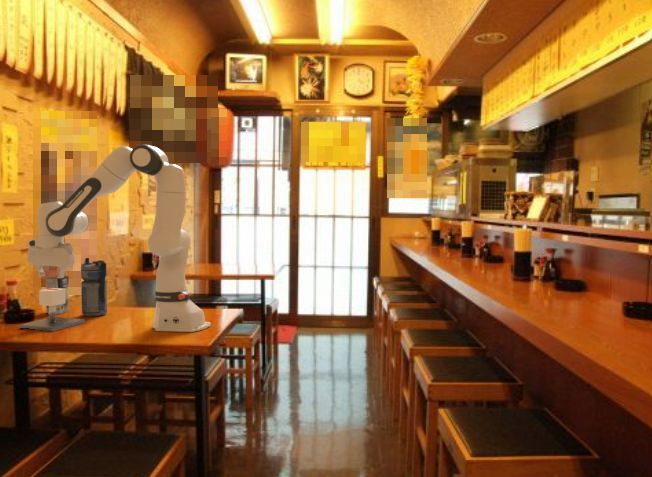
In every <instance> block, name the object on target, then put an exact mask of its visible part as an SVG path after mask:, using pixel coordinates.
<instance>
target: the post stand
mask: <svg viewBox="0 0 652 477" xmlns="http://www.w3.org/2000/svg"><path fill="white" fill-rule="evenodd" d="M48 315H49V316H48V317H47V318H42V319H38V320H35V321H30V322H26V323H21V324H19V329H20V328H29V329H35V330H34V331H40V330H43V331H42V332H50V331H51V333H52V332H57V331H60V330H64V329H68V328H70V327H75V326H78V325H82V324H85V322H86V321H85V319H84V318H75V317H74V318H73V317H60V316H57V314H56V305H55V306H49V314H48ZM29 329H28V330H29Z"/></svg>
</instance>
